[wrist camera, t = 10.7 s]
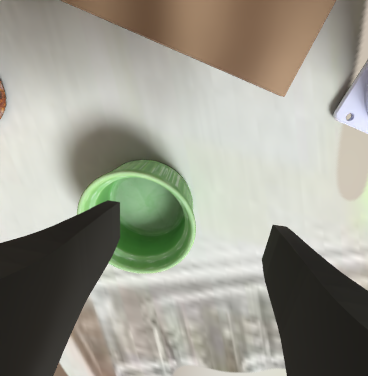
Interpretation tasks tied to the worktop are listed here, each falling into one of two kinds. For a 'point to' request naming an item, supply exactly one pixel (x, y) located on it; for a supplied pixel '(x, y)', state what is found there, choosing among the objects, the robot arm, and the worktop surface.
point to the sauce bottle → (2, 100)
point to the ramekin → (146, 214)
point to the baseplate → (226, 32)
